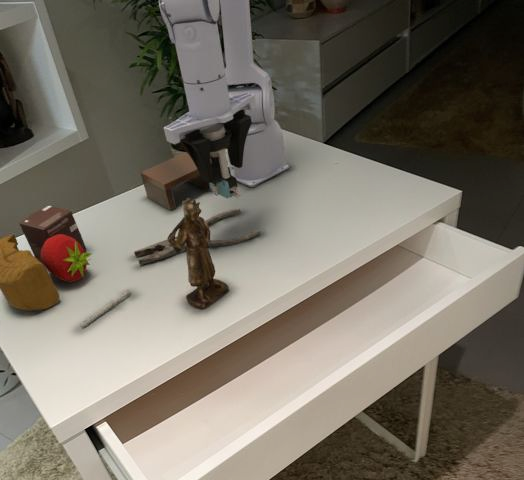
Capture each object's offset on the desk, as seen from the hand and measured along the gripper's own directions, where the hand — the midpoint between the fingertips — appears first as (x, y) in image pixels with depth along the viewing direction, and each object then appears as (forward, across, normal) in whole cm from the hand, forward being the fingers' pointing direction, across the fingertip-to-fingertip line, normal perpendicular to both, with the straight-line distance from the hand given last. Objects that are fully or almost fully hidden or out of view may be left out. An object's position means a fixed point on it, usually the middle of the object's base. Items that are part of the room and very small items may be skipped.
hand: (222, 173), depth 84 cm
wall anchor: (+10, -25, -1) cm, 26 cm away
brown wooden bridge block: (+10, +3, +19) cm, 22 cm away
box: (+10, -22, +18) cm, 30 cm away
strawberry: (+7, -26, +15) cm, 31 cm away
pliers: (+10, -5, +2) cm, 12 cm away
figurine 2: (+8, -30, +21) cm, 37 cm away
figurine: (+10, -14, -10) cm, 20 cm away
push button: (+4, 0, 0) cm, 4 cm away
